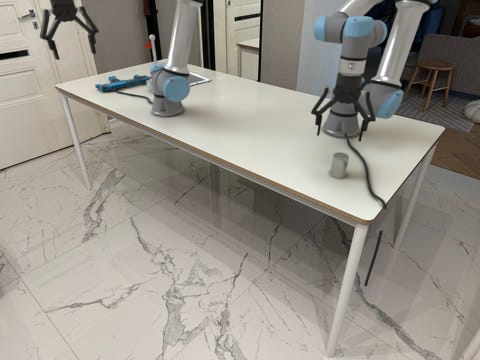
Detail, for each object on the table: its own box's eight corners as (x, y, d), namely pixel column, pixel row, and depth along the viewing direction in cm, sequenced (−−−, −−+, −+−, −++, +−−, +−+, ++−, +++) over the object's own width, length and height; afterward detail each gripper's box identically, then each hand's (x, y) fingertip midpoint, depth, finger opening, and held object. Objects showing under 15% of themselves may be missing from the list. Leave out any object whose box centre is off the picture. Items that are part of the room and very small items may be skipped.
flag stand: (168, 85, 203) (161, 31, 187) (172, 92, 193) (166, 36, 177) (146, 88, 199) (137, 33, 183) (149, 95, 189) (140, 37, 173)
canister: (348, 174, 119) (352, 156, 115) (338, 179, 117) (341, 161, 113) (336, 168, 123) (340, 150, 119) (326, 173, 120) (329, 155, 116)
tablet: (157, 75, 221) (157, 74, 221) (183, 69, 232) (183, 69, 232) (184, 87, 201) (183, 86, 200) (211, 80, 212) (211, 79, 211)
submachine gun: (140, 69, 223) (158, 75, 206) (141, 75, 225) (159, 81, 208) (87, 79, 204) (103, 87, 188) (89, 85, 206) (105, 94, 190)
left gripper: (22, -6, 107) (44, 63, 118) (99, -10, 121) (112, 52, 132) (16, -7, 111) (37, 59, 123) (91, -11, 125) (103, 49, 137)
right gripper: (307, 72, 103) (300, 136, 114) (395, 80, 97) (378, 147, 108) (310, 66, 109) (303, 127, 120) (393, 73, 103) (377, 137, 114)
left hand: (76, 56), depth 128 cm, fingers open, 13 cm apart
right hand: (338, 137), depth 114 cm, fingers open, 13 cm apart
